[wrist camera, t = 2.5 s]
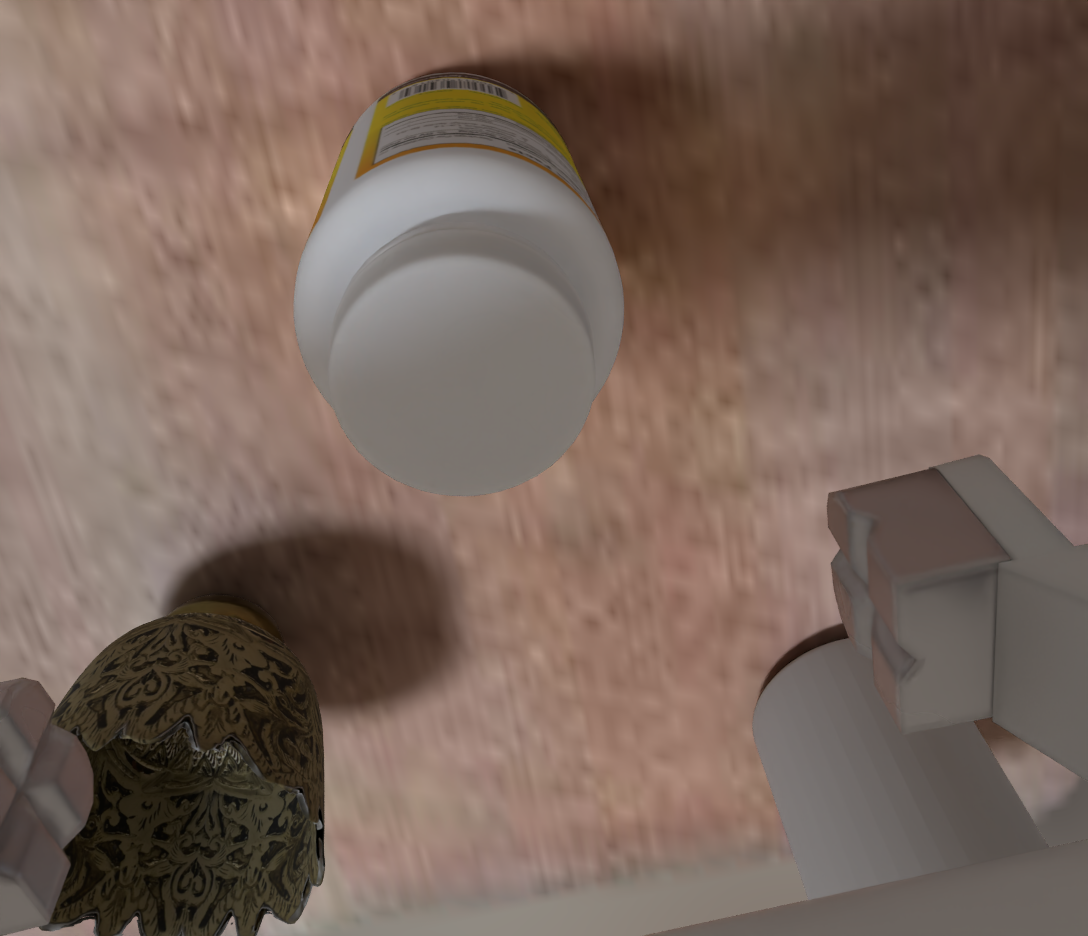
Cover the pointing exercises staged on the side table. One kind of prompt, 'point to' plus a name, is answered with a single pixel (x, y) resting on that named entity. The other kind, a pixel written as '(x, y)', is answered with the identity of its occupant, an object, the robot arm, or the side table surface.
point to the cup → (196, 777)
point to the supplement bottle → (458, 288)
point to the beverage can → (877, 781)
